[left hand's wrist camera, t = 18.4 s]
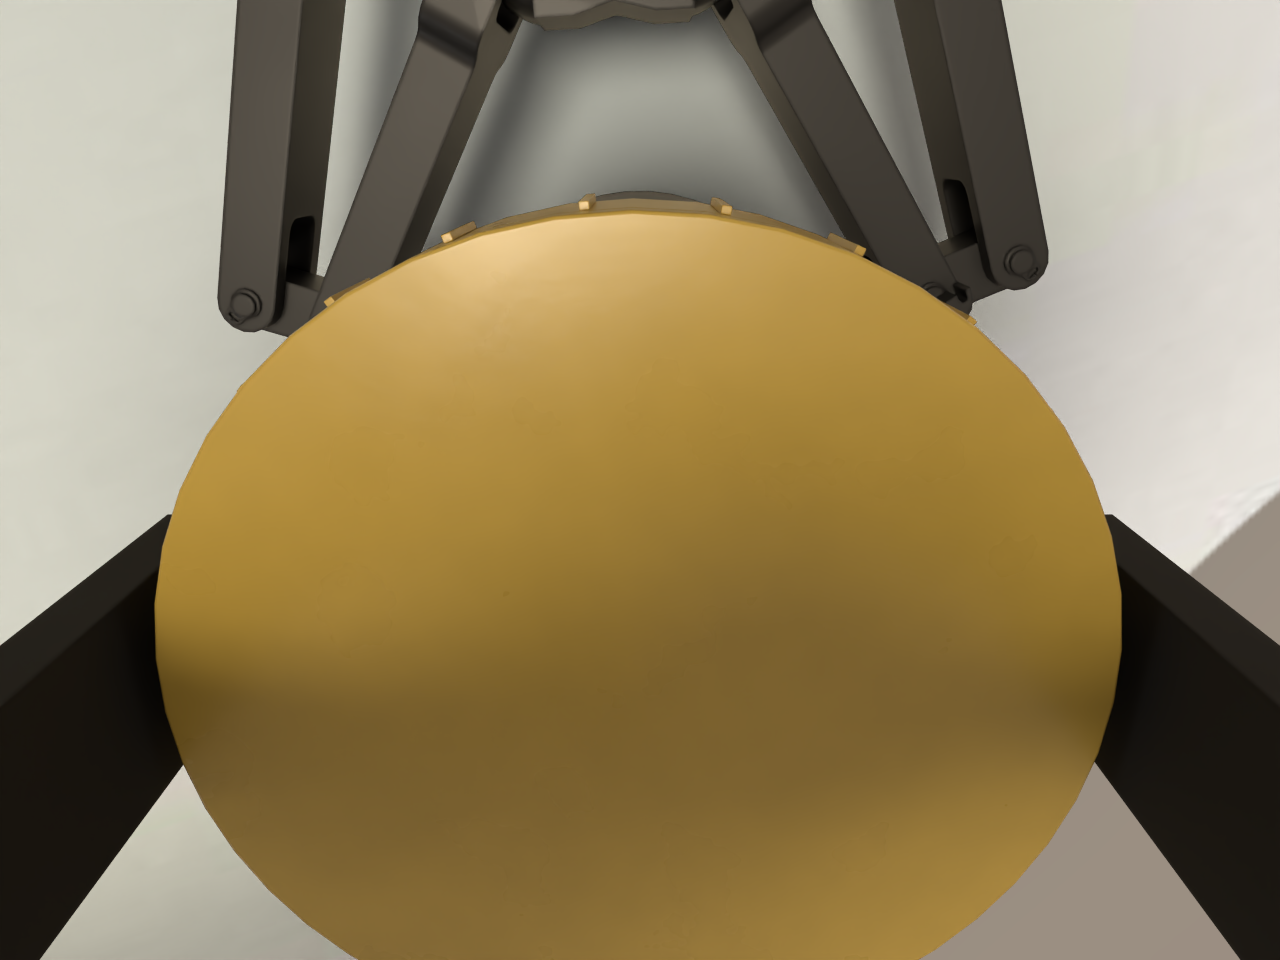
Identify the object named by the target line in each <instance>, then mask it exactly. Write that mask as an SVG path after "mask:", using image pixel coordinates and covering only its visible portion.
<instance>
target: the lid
mask: <svg viewBox="0 0 1280 960" xmlns="http://www.w3.org/2000/svg"><path fill="white" fill-rule="evenodd" d="M476 228H477V227H476V225H475V222H474V221H472V222H470V223H467V224H465V225H463V226H460V227H458V228H456V229H454V230H452V231H449V232H447V233H445V234H443V235H441V238H442V240H443V242H442V243H440V244H438V245H436V246H434V247H432V248H430V249H428V250H425V251H423V252H421V253H419V254H417V255H415V256H413V257H411V258H409V259H407V260H406V261H404V262H402V263H400V264H398V265H396V266H395V267H393V268H391V269H389V270H387V271H385V272H384V273H382V274H380V275H378V276H376V277H375V278H373V279H370V278H367V279H365V280H363V281H361V282H359V283H357V284H355V285H353V286H351V287H349V288H347V289H345V290H343V291H341V292H339V293H337V294H335V295H333V296H331V297H329V298H328V299H327V300H325V301H324V303H325V304H326V306H327V308H326V309H324V310H323V311H322V312H320V313H319V314H318V315H316V316H315V317H314V318H312V319H311V320H310V321H308V322H307V323H306V324H304V325H303V326H302V327H300V328H299V329H298V330H297V331H295V332H294V333H293V334H291V335H290V336H289V337H288V338H287V339H286V340H285V341H284V342H283V343H282V344H281V345H280V346H279V347H278V348H277V349H276V350H275V351H274V352H273V353H272V354H271V355H270V357H269V358H268V359H267V360H266V361H265V362H264V363H263V364H262V365H261V366H260V367H259V368H258V369H257V370H256V371H255V372H254V373H253V374H252V375H251V376H250V377H249V378H248V379H247V380H246V381H245V382H244V383H243V384H242V385H241V386H240V387H239V389H238V390H237V393H236V395H235V396H234V397H233V399H232V400H231V402H230V403H229V404H228V406H227V407H226V409H225V410H224V411H223V413H222V414H221V416H220V417H219V419H218V420H217V421H216V423H215V424H214V426H213V427H212V428H211V430H210V431H209V433H208V434H207V436H206V438H205V440H204V442H203V444H202V446H201V448H200V450H199V452H198V454H197V456H196V458H195V460H194V462H193V464H192V466H191V468H190V470H189V472H188V474H187V476H186V478H185V480H184V482H183V484H182V486H181V488H180V491H179V494H178V497H177V500H176V504H175V507H174V510H173V514H172V517H171V520H170V523H169V527H168V530H167V533H166V536H165V540H164V543H163V546H162V553H161V560H160V568H159V575H158V582H157V590H156V597H155V645H156V663H157V668H158V674H159V680H160V685H161V691H162V696H163V702H164V708H165V712H166V715H167V718H168V721H169V724H170V727H171V730H172V733H173V736H174V739H175V742H176V745H177V748H178V751H179V754H180V757H181V760H182V763H183V765H184V767H185V769H186V771H187V773H188V775H189V777H190V779H191V781H192V783H193V785H194V787H195V789H196V791H197V793H198V795H199V797H200V799H201V801H202V803H203V805H204V807H205V809H206V810H207V812H208V813H209V814H210V816H211V817H212V819H213V820H214V822H215V823H216V825H217V826H218V828H219V829H220V831H221V832H222V834H223V835H224V837H225V838H226V839H227V841H228V842H229V844H230V845H231V847H232V848H233V850H234V851H235V852H236V854H237V855H238V856H239V857H240V858H241V859H242V860H243V861H244V863H245V864H246V865H247V866H248V867H249V868H250V869H251V871H252V872H253V873H254V874H255V875H256V876H257V877H258V879H259V880H260V881H261V882H262V883H263V884H264V885H265V887H266V888H267V889H268V890H269V891H270V892H271V893H272V894H274V895H275V896H276V897H277V898H278V899H279V900H280V901H281V902H282V903H284V904H285V905H286V906H287V907H288V908H289V909H290V910H291V911H293V912H294V913H295V914H296V915H297V916H298V917H299V918H300V919H301V920H303V921H304V922H305V923H306V924H307V925H308V926H310V927H311V928H313V929H314V930H315V931H317V932H318V933H320V934H321V935H322V936H324V937H325V938H327V939H328V940H329V941H331V942H332V943H334V944H335V945H336V946H338V947H339V948H341V949H342V950H343V951H345V952H346V953H348V954H349V955H351V956H353V957H354V958H356V959H358V960H919V959H921V958H922V957H924V956H926V955H927V954H929V953H931V952H932V951H934V950H936V949H937V948H939V947H940V946H941V945H943V944H944V943H945V942H947V941H948V940H949V939H951V938H952V937H953V936H955V935H956V934H957V933H959V932H960V931H961V930H963V929H964V928H965V927H967V926H968V925H969V924H971V923H972V922H973V921H975V920H976V919H977V918H978V917H980V916H981V915H982V914H983V913H984V912H985V911H986V910H987V909H988V908H989V907H990V906H991V905H992V904H994V903H995V902H996V901H997V900H998V899H999V898H1000V897H1001V896H1002V895H1003V894H1004V893H1005V892H1006V891H1007V890H1008V889H1010V888H1011V887H1012V886H1013V885H1014V884H1015V883H1016V882H1017V880H1018V879H1019V878H1020V877H1021V876H1022V874H1023V873H1024V872H1025V871H1026V870H1027V868H1028V867H1029V866H1030V865H1031V864H1032V863H1033V861H1034V860H1035V859H1036V858H1037V857H1038V855H1039V854H1040V853H1041V852H1042V851H1043V849H1044V848H1045V847H1046V846H1047V845H1048V843H1049V842H1050V840H1051V839H1052V837H1053V836H1054V834H1055V832H1056V831H1057V829H1058V828H1059V826H1060V825H1061V823H1062V822H1063V820H1064V818H1065V817H1066V815H1067V814H1068V812H1069V811H1070V809H1071V808H1072V806H1073V805H1074V803H1075V801H1076V800H1077V798H1078V795H1079V793H1080V791H1081V789H1082V787H1083V785H1084V783H1085V780H1086V778H1087V776H1088V774H1089V772H1090V770H1091V768H1092V765H1093V764H1094V761H1095V759H1096V757H1097V755H1098V753H1099V749H1100V746H1101V743H1102V740H1103V736H1104V733H1105V730H1106V727H1107V723H1108V720H1109V717H1110V713H1111V710H1112V707H1113V704H1114V698H1115V691H1116V685H1117V678H1118V671H1119V665H1120V658H1121V651H1122V605H1121V589H1120V583H1119V577H1118V571H1117V565H1116V559H1115V553H1114V547H1113V541H1112V536H1111V533H1110V530H1109V527H1108V524H1107V521H1106V518H1105V515H1104V512H1103V509H1102V506H1101V503H1100V500H1099V497H1098V494H1097V491H1096V488H1095V485H1094V482H1093V480H1092V478H1091V476H1090V474H1089V472H1088V470H1087V468H1086V467H1085V465H1084V463H1083V461H1082V459H1081V457H1080V455H1079V453H1078V451H1077V449H1076V448H1075V446H1074V444H1073V442H1072V440H1071V438H1070V436H1069V434H1068V432H1067V431H1066V429H1065V427H1064V425H1063V424H1062V423H1061V421H1060V420H1059V419H1058V417H1057V416H1056V415H1055V413H1054V412H1053V410H1052V409H1051V408H1050V407H1049V405H1048V404H1047V403H1046V401H1045V400H1044V399H1043V397H1042V396H1041V395H1040V393H1039V392H1038V391H1037V389H1036V388H1035V387H1034V385H1033V384H1032V383H1031V381H1030V380H1029V379H1028V377H1027V376H1026V375H1025V374H1024V373H1023V372H1022V371H1021V370H1020V369H1019V368H1018V367H1017V366H1016V365H1015V364H1014V363H1013V362H1012V361H1011V360H1010V359H1009V358H1008V357H1007V356H1006V355H1005V354H1004V353H1003V352H1002V351H1001V350H1000V349H999V348H998V347H997V346H996V345H995V344H993V343H992V342H991V341H990V340H989V339H988V338H987V337H986V336H985V335H984V334H983V333H982V332H981V331H980V330H979V329H978V328H977V327H976V326H974V325H975V324H976V323H977V321H976V320H975V319H973V318H972V317H971V316H969V315H967V314H966V313H964V312H962V311H960V310H958V309H956V308H954V307H952V306H950V305H948V304H946V303H944V302H942V301H940V300H938V299H937V298H935V297H934V296H932V295H931V294H930V293H928V292H927V291H925V290H924V289H923V288H921V287H920V286H918V285H916V284H914V283H912V282H910V281H908V280H906V279H904V278H902V277H900V276H898V275H896V274H894V273H892V272H890V271H889V270H887V269H885V268H883V267H881V266H879V265H877V264H875V263H873V262H871V261H869V260H867V259H865V258H863V257H862V256H863V255H864V253H865V251H866V248H864V247H861V246H859V245H857V244H855V243H853V242H851V241H848V240H846V239H844V238H842V237H840V236H837V235H835V234H833V233H830V234H829V236H828V238H827V239H826V238H824V237H822V236H820V235H817V234H815V233H812V232H809V231H806V230H803V229H800V228H797V227H794V226H792V225H789V224H786V223H783V222H780V221H777V220H774V219H771V218H769V217H766V216H763V215H760V214H755V213H750V212H745V211H740V210H735V209H732V206H731V205H729V204H728V203H726V202H725V201H723V200H722V199H720V198H714V197H712V199H711V205H710V204H705V203H699V202H688V201H671V200H653V199H635V198H631V199H619V200H606V201H596V196H595V193H593V194H586V195H585V196H584V197H583V198H582V199H581V200H580V201H579V202H578V203H569V204H564V205H560V206H555V207H551V208H546V209H542V210H538V211H533V212H529V213H524V214H520V215H515V216H511V217H506V218H504V219H501V220H498V221H496V222H493V223H490V224H488V225H485V226H482V227H480V228H477V229H476Z"/></svg>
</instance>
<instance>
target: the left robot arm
mask: <svg viewBox="0 0 1280 960" xmlns="http://www.w3.org/2000/svg"><path fill="white" fill-rule="evenodd" d="M171 517H172V515H167V516H165V517H164V518H163V519H161V520H160V521H159V522H158V523H156V524H155V525H154V526H152V527H151V528H150V529H149V530H147V531H146V532H145V533H144V534H142V535H141V536H140V537H138V538H137V539H136V540H135V541H133V542H132V543H131V544H129V545H128V546H127V547H126V548H124V549H123V550H122V551H121V552H119V553H118V554H117V555H115V556H114V557H113V558H112V559H110V560H109V561H108V562H106V563H105V564H104V565H103V566H101V567H100V568H99V569H98V570H96V571H95V572H94V573H92V574H91V575H90V576H89V577H87V578H86V579H85V580H83V581H82V582H81V583H80V584H78V585H77V586H76V587H75V588H73V589H72V590H71V591H69V592H68V593H67V594H66V595H64V596H63V597H62V598H60V599H59V600H58V601H57V602H55V603H54V604H53V605H52V606H50V607H49V608H48V609H46V610H45V611H44V612H43V613H41V614H40V615H39V616H37V617H36V618H35V619H34V620H32V621H31V622H30V623H29V624H27V625H26V626H25V627H23V628H22V629H21V630H20V631H18V632H17V633H16V634H14V635H13V636H12V637H11V638H9V639H8V640H7V641H6V642H4V643H3V644H2V645H0V960H40V958H41V957H42V956H43V954H44V953H45V952H46V950H47V949H48V948H49V946H50V945H51V944H52V942H53V941H54V939H55V938H56V937H57V935H58V934H59V933H60V931H61V930H62V929H63V927H64V926H65V925H66V923H67V922H68V920H69V919H70V918H71V916H72V915H73V914H74V912H75V911H76V910H77V908H78V907H79V906H80V904H81V903H82V901H83V900H84V899H85V897H86V896H87V895H88V893H89V892H90V891H91V889H92V888H93V887H94V885H95V884H96V882H97V881H98V880H99V878H100V877H101V876H102V874H103V873H104V872H105V870H106V869H107V868H108V866H109V865H110V863H111V862H112V861H113V859H114V858H115V857H116V855H117V854H118V853H119V851H120V850H121V849H122V847H123V846H124V844H125V843H126V842H127V840H128V839H129V838H130V836H131V835H132V834H133V832H134V831H135V830H136V828H137V827H138V825H139V824H140V823H141V821H142V820H143V819H144V817H145V816H146V815H147V813H148V812H149V811H150V809H151V808H152V806H153V805H154V804H155V802H156V801H157V800H158V798H159V797H160V796H161V794H162V793H163V792H164V790H165V789H166V787H167V786H168V785H169V783H170V782H171V781H172V779H173V778H174V777H175V775H176V774H177V773H178V771H179V770H180V768H181V767H182V766H183V763H182V760H181V757H180V754H179V751H178V748H177V745H176V742H175V739H174V736H173V733H172V730H171V727H170V724H169V721H168V718H167V715H166V712H165V708H164V702H163V696H162V691H161V685H160V680H159V674H158V668H157V663H156V645H155V597H156V590H157V582H158V575H159V568H160V560H161V553H162V546H163V543H164V540H165V536H166V533H167V530H168V527H169V523H170V520H171ZM1105 518H1106V521H1107V524H1108V527H1109V530H1110V533H1111V536H1112V541H1113V547H1114V553H1115V559H1116V565H1117V571H1118V577H1119V583H1120V589H1121V605H1122V651H1121V658H1120V665H1119V671H1118V678H1117V685H1116V691H1115V698H1114V704H1113V707H1112V710H1111V713H1110V717H1109V720H1108V723H1107V727H1106V730H1105V733H1104V736H1103V740H1102V743H1101V746H1100V749H1099V753H1098V755H1097V757H1096V759H1095V761H1094V762H1095V763H1096V764H1097V766H1098V767H1099V768H1100V770H1101V771H1102V773H1103V774H1104V775H1105V777H1106V778H1107V779H1108V781H1109V782H1110V783H1111V785H1112V786H1113V787H1114V789H1115V790H1116V791H1117V793H1118V794H1119V796H1120V797H1121V798H1122V800H1123V801H1124V802H1125V804H1126V805H1127V806H1128V808H1129V809H1130V811H1131V812H1132V813H1133V815H1134V816H1135V817H1136V819H1137V820H1138V821H1139V823H1140V824H1141V825H1142V827H1143V828H1144V830H1145V831H1146V832H1147V834H1148V835H1149V836H1150V838H1151V839H1152V840H1153V842H1154V843H1155V844H1156V846H1157V847H1158V849H1159V850H1160V851H1161V853H1162V854H1163V855H1164V857H1165V858H1166V859H1167V861H1168V862H1169V863H1170V865H1171V866H1172V868H1173V869H1174V870H1175V872H1176V873H1177V874H1178V876H1179V877H1180V878H1181V880H1182V881H1183V882H1184V884H1185V885H1186V886H1187V888H1188V889H1189V891H1190V892H1191V893H1192V895H1193V896H1194V897H1195V899H1196V900H1197V901H1198V903H1199V904H1200V906H1201V907H1202V908H1203V910H1204V911H1205V912H1206V914H1207V915H1208V916H1209V918H1210V919H1211V920H1212V922H1213V923H1214V925H1215V926H1216V927H1217V929H1218V930H1219V931H1220V933H1221V934H1222V935H1223V937H1224V938H1225V939H1226V941H1227V942H1228V944H1229V945H1230V946H1231V948H1232V949H1233V950H1234V952H1235V953H1236V954H1237V956H1238V957H1239V958H1240V960H1280V645H1278V644H1277V643H1276V642H1274V641H1273V640H1272V639H1271V638H1269V637H1268V636H1267V635H1265V634H1264V633H1263V632H1262V631H1260V630H1259V629H1258V628H1256V627H1255V626H1254V625H1253V624H1251V623H1250V622H1249V621H1248V620H1246V619H1245V618H1244V617H1243V616H1241V615H1240V614H1239V613H1237V612H1236V611H1235V610H1234V609H1232V608H1231V607H1230V606H1228V605H1227V604H1226V603H1225V602H1223V601H1222V600H1221V599H1220V598H1218V597H1217V596H1216V595H1214V594H1213V593H1212V592H1211V591H1209V590H1208V589H1207V588H1205V587H1204V586H1203V585H1202V584H1200V583H1199V582H1198V581H1196V580H1195V579H1194V578H1193V577H1191V576H1190V575H1189V574H1188V573H1186V572H1185V571H1184V570H1182V569H1181V568H1180V567H1179V566H1177V565H1176V564H1175V563H1174V562H1172V561H1171V560H1170V559H1168V558H1167V557H1166V556H1165V555H1163V554H1162V553H1161V552H1159V551H1158V550H1157V549H1156V548H1154V547H1153V546H1152V545H1151V544H1149V543H1148V542H1147V541H1145V540H1144V539H1143V538H1142V537H1140V536H1139V535H1138V534H1136V533H1135V532H1134V531H1133V530H1131V529H1130V528H1129V527H1128V526H1126V525H1125V524H1124V523H1122V522H1121V521H1120V520H1119V519H1117V518H1116V517H1115V516H1113V515H1105Z"/></svg>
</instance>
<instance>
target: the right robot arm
mask: <svg viewBox="0 0 1280 960" xmlns="http://www.w3.org/2000/svg"><path fill="white" fill-rule="evenodd" d="M894 3H895V7H896V11H897V16H898V20H899V25H900V29H901V33H902V38H903V42H904V46H905V51H906V55H907V60H908V64H909V68H910V73H911V77H912V82H913V86H914V90H915V95H916V99H917V104H918V108H919V112H920V117H921V121H922V125H923V130H924V134H925V139H926V143H927V147H928V152H929V156H930V161H931V165H932V169H933V174H934V178H935V183H936V187H937V191H938V196H939V200H940V204H941V209H942V213H943V218H944V222H945V226H946V231H947V235H948V239H947V240H944V241H942V242H940V243H937V242H936V240H935V238H934V236H933V234H932V232H931V231H930V229H929V227H928V225H927V223H926V221H925V219H924V217H923V215H922V213H921V212H920V210H919V208H918V206H917V204H916V202H915V200H914V198H913V196H912V195H911V193H910V191H909V189H908V187H907V185H906V183H905V181H904V179H903V178H902V176H901V174H900V172H899V170H898V168H897V166H896V164H895V162H894V160H893V159H892V157H891V155H890V153H889V151H888V149H887V147H886V145H885V143H884V142H883V140H882V138H881V136H880V134H879V132H878V130H877V128H876V126H875V125H874V123H873V121H872V119H871V117H870V115H869V113H868V111H867V109H866V107H865V106H864V104H863V102H862V100H861V98H860V96H859V94H858V92H857V90H856V89H855V87H854V85H853V83H852V81H851V79H850V77H849V75H848V73H847V72H846V70H845V68H844V66H843V64H842V62H841V60H840V58H839V56H838V54H837V53H836V51H835V49H834V47H833V45H832V43H831V41H830V39H829V37H828V36H827V34H826V32H825V30H824V28H823V26H822V24H821V22H820V20H819V19H818V17H817V15H816V12H815V10H814V8H813V5H812V1H811V0H423V1H422V4H421V7H420V12H419V17H418V32H417V36H416V39H415V42H414V44H413V47H412V50H411V52H410V55H409V57H408V60H407V63H406V65H405V68H404V70H403V73H402V76H401V78H400V81H399V84H398V86H397V89H396V91H395V94H394V97H393V99H392V102H391V104H390V107H389V110H388V112H387V115H386V118H385V120H384V123H383V125H382V128H381V131H380V133H379V136H378V138H377V141H376V144H375V146H374V149H373V152H372V154H371V157H370V159H369V162H368V165H367V167H366V170H365V172H364V175H363V178H362V180H361V183H360V185H359V188H358V191H357V193H356V196H355V199H354V201H353V204H352V206H351V209H350V212H349V214H348V217H347V219H346V222H345V225H344V227H343V230H342V233H341V235H340V238H339V240H338V243H337V246H336V248H335V251H334V253H333V256H332V259H331V261H330V264H329V267H328V269H327V272H326V274H325V277H323V276H319V275H316V273H317V264H318V254H319V245H320V236H321V227H322V217H323V208H324V199H325V190H326V180H327V171H328V162H329V153H330V143H331V134H332V125H333V115H334V106H335V97H336V88H337V78H338V69H339V60H340V51H341V41H342V32H343V23H344V14H345V4H346V0H237V14H236V29H235V43H234V58H233V73H232V88H231V103H230V118H229V133H228V148H227V162H226V177H225V192H224V207H223V222H222V237H221V252H220V266H219V281H218V296H217V298H218V306H219V310H220V312H221V314H222V316H223V317H224V319H225V320H226V321H227V322H228V323H229V324H230V325H231V326H233V327H234V328H236V329H239V330H241V331H243V332H257V331H259V330H265V331H269V332H272V333H276V334H279V335H282V336H286V337H289V336H290V335H291V334H293V333H294V332H295V331H297V330H298V329H299V328H300V327H302V326H303V325H304V324H306V323H307V322H308V321H310V320H311V319H312V318H314V317H315V316H316V315H318V314H319V313H320V312H322V311H323V310H324V309H326V308H327V306H326V304H325V303H324V301H325V300H327V299H328V298H329V297H331V296H333V295H335V294H337V293H339V292H341V291H343V290H345V289H347V288H349V287H351V286H353V285H355V284H357V283H359V282H361V281H363V280H365V279H367V278H370V279H373V278H375V277H376V276H378V275H380V274H382V273H384V272H385V271H387V270H389V269H391V268H393V267H395V266H396V265H398V264H400V263H402V262H404V261H406V260H407V259H409V258H411V257H413V256H415V255H417V254H419V253H421V251H422V248H423V246H424V244H425V241H426V239H427V236H428V234H429V232H430V229H431V227H432V224H433V222H434V220H435V217H436V215H437V212H438V210H439V208H440V205H441V203H442V201H443V198H444V196H445V193H446V191H447V189H448V186H449V184H450V181H451V179H452V177H453V174H454V172H455V169H456V167H457V165H458V162H459V160H460V158H461V155H462V153H463V150H464V148H465V146H466V143H467V141H468V138H469V136H470V134H471V131H472V129H473V126H474V124H475V122H476V119H477V117H478V115H479V112H480V110H481V107H482V105H483V103H484V100H485V98H486V95H487V93H488V91H489V88H490V86H491V83H492V81H493V79H494V77H495V75H496V73H497V71H498V70H499V69H500V67H501V66H502V64H503V63H504V61H505V59H506V57H507V55H508V53H509V51H510V48H511V46H512V43H513V41H514V39H515V36H516V34H517V32H518V29H519V27H520V24H521V22H522V20H525V21H528V22H530V23H533V24H537V25H541V27H542V28H543V29H544V30H545V31H548V30H564V29H580V28H583V27H586V26H588V25H591V24H594V23H596V22H599V21H602V20H604V19H607V18H610V17H613V16H622V17H627V18H631V19H635V20H639V21H644V22H648V23H652V24H662V23H678V22H690V19H691V17H692V16H694V15H697V14H699V13H701V12H703V11H705V10H707V9H708V8H710V7H711V8H712V10H713V11H714V13H715V15H716V17H717V18H718V20H719V22H720V24H721V25H722V27H723V29H724V31H725V32H726V34H727V36H728V38H729V39H730V41H731V43H732V44H733V46H734V47H735V49H736V50H737V51H738V52H739V54H740V55H741V56H742V57H743V59H744V60H745V61H746V63H747V65H748V67H749V68H750V70H751V72H752V74H753V75H754V77H755V79H756V81H757V82H758V84H759V86H760V88H761V90H762V91H763V93H764V95H765V97H766V98H767V100H768V102H769V104H770V105H771V107H772V109H773V111H774V113H775V114H776V116H777V118H778V120H779V121H780V123H781V125H782V127H783V128H784V130H785V132H786V134H787V136H788V137H789V139H790V141H791V143H792V144H793V146H794V148H795V150H796V151H797V153H798V155H799V157H800V159H801V160H802V162H803V164H804V166H805V167H806V169H807V171H808V173H809V174H810V176H811V178H812V180H813V182H814V183H815V185H816V187H817V189H818V190H819V192H820V194H821V196H822V197H823V199H824V201H825V203H826V205H827V206H828V208H829V210H830V212H831V213H832V215H833V217H834V219H835V220H836V222H837V224H838V226H839V228H840V229H841V231H842V233H843V235H844V236H845V238H846V240H848V241H851V242H853V243H855V244H857V245H859V246H861V247H864V248H866V251H865V253H864V255H863V256H862V257H863V258H865V259H867V260H869V261H871V262H873V263H875V264H877V265H879V266H881V267H883V268H885V269H887V270H889V271H890V272H892V273H894V274H896V275H898V276H900V277H902V278H904V279H906V280H908V281H910V282H912V283H914V284H916V285H918V286H920V287H921V288H923V289H924V290H925V291H927V292H928V293H930V294H931V295H932V296H934V297H935V298H937V299H938V300H940V301H942V302H944V303H946V304H948V305H950V306H952V307H954V308H956V309H958V310H960V311H962V312H964V313H966V314H967V315H969V313H970V311H971V310H972V303H973V302H975V301H978V300H980V299H983V298H985V297H988V296H990V295H992V294H995V293H997V292H1000V291H1002V290H1005V289H1011V290H1020V289H1026V288H1027V287H1029V286H1031V285H1033V284H1034V283H1036V282H1037V281H1038V280H1039V278H1040V277H1041V276H1042V275H1043V274H1044V272H1045V269H1046V267H1047V264H1048V246H1047V241H1046V236H1045V230H1044V225H1043V220H1042V214H1041V209H1040V204H1039V198H1038V193H1037V188H1036V182H1035V177H1034V172H1033V166H1032V161H1031V156H1030V150H1029V145H1028V140H1027V134H1026V129H1025V124H1024V118H1023V113H1022V108H1021V102H1020V97H1019V92H1018V86H1017V81H1016V76H1015V70H1014V65H1013V60H1012V54H1011V49H1010V44H1009V38H1008V33H1007V28H1006V22H1005V17H1004V12H1003V6H1002V1H1001V0H894Z"/></svg>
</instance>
